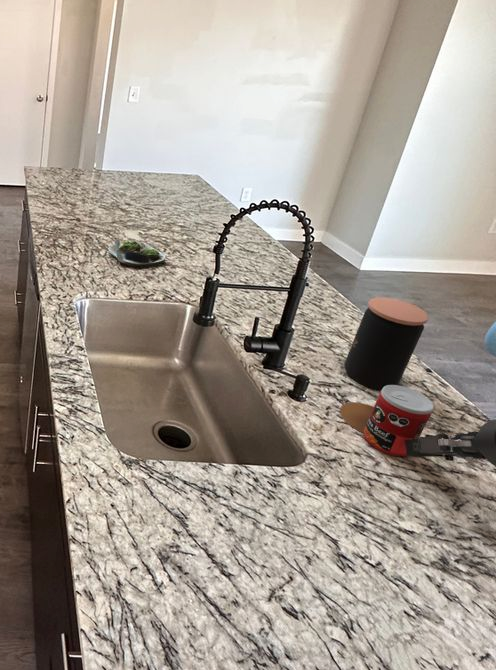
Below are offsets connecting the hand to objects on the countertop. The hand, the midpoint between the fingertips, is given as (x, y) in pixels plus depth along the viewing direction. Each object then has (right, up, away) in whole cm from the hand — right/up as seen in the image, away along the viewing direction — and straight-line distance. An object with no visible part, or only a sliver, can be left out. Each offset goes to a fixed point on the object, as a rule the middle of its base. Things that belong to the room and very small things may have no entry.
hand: (410, 448), depth 97 cm
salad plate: (-27, +36, +81) cm, 93 cm away
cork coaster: (+1, +2, +12) cm, 12 cm away
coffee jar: (+11, +8, +25) cm, 29 cm away
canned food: (0, -1, +6) cm, 6 cm away
